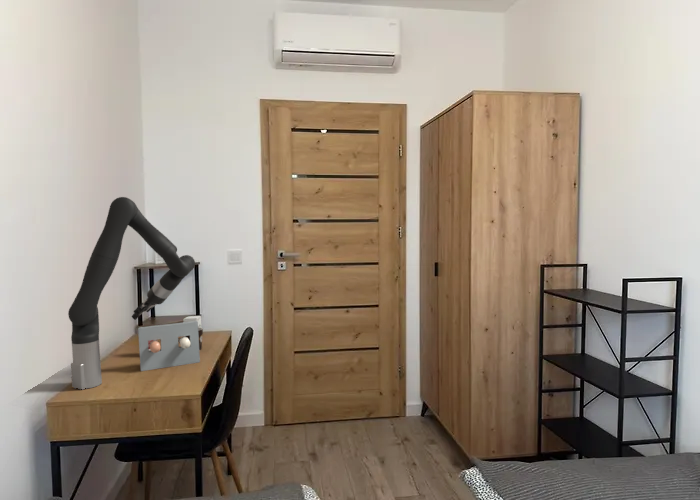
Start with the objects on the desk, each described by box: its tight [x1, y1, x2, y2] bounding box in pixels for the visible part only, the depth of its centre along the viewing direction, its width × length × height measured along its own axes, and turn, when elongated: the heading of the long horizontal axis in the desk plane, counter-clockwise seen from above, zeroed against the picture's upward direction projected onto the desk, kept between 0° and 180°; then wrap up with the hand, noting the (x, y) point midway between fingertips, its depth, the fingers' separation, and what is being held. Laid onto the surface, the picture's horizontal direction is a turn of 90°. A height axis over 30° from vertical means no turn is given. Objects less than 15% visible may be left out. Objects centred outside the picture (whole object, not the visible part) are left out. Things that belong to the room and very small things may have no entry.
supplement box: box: [182, 315, 202, 337], centre depth 253 cm, size 7×7×13 cm
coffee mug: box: [185, 327, 204, 351], centre depth 234 cm, size 12×9×10 cm
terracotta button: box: [150, 340, 161, 353], centre depth 200 cm, size 6×4×4 cm, turn 25°
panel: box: [137, 321, 201, 372], centre depth 208 cm, size 9×24×18 cm, turn 115°
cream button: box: [178, 336, 191, 349], centre depth 205 cm, size 6×4×4 cm, turn 25°
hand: (140, 314), depth 204 cm, fingers open, 8 cm apart
